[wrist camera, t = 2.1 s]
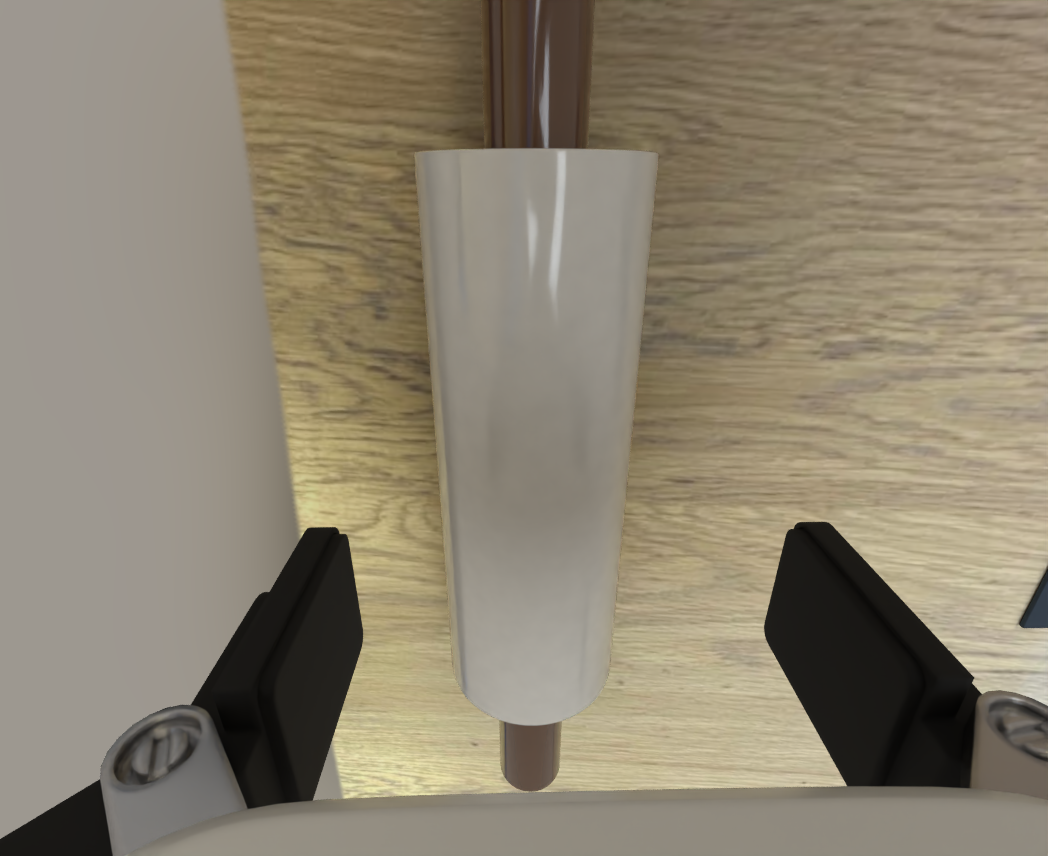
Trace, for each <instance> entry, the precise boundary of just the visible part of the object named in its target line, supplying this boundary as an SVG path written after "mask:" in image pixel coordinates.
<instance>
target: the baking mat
mask: <svg viewBox="0 0 1048 856" xmlns="http://www.w3.org/2000/svg"><path fill="white" fill-rule="evenodd" d="M1020 626H1021V627H1022V628H1048V571H1047V573H1046V574H1045V576H1044V578H1043V580H1042V582H1041V584H1040V586H1039V588H1038V590H1037V592H1036V594H1035V596H1034V598H1033V599H1032V601H1031V603H1030V605H1029V607H1028V609H1027V611H1026V613H1025V615H1024V617H1023V619H1022V621H1021V623H1020Z"/></svg>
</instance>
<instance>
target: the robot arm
mask: <svg viewBox="0 0 1048 856" xmlns="http://www.w3.org/2000/svg"><path fill="white" fill-rule="evenodd" d="M764 632H765V637H766V640H767V642H768V644H769V646H770V648H771V650H772V652H773V653H774V655H775V657H776V659H777V661H778V662H779V664H780V666H781V668H782V669H783V671H784V673H785V675H786V677H787V678H788V680H789V682H790V684H791V686H792V687H793V689H794V691H795V693H796V695H797V696H798V698H799V700H800V702H801V704H802V705H803V707H804V709H805V711H806V713H807V714H808V716H809V718H810V720H811V722H812V723H813V725H814V727H815V729H816V731H817V732H818V734H819V736H820V738H821V740H822V741H823V743H824V745H825V747H826V749H827V750H828V752H829V754H830V756H831V758H832V759H833V761H834V763H835V765H836V767H837V768H838V770H839V772H840V774H841V776H842V777H843V779H844V781H845V783H846V785H847V786H842V787H776V788H711V789H662V790H614V791H569V792H528V793H491V794H454V795H417V796H393V797H371V798H349V799H326V800H315V801H313V798H314V794H315V791H316V788H317V785H318V782H319V778H320V776H321V772H322V770H323V766H324V763H325V760H326V757H327V754H328V751H329V748H330V745H331V741H332V738H333V735H334V732H335V729H336V726H337V723H338V720H339V717H340V713H341V710H342V707H343V704H344V701H345V698H346V695H347V692H348V689H349V685H350V682H351V679H352V676H353V673H354V670H355V667H356V664H357V660H358V657H359V654H360V651H361V648H362V642H363V628H362V621H361V615H360V609H359V603H358V597H357V590H356V584H355V578H354V572H353V565H352V559H351V553H350V547H349V541H348V537H347V535H346V534H339V531H338V529H337V528H336V527H318V528H308V529H307V530H306V531H305V533H304V534H303V536H302V538H301V539H300V541H299V543H298V544H297V546H296V548H295V550H294V551H293V553H292V555H291V556H290V558H289V560H288V561H287V563H286V565H285V566H284V568H283V570H282V572H281V574H280V575H279V577H278V578H277V580H276V582H275V584H274V585H273V587H272V589H271V591H270V592H264V593H262V594H260V595H259V596H258V597H257V598H256V600H255V601H254V603H253V604H252V606H251V607H250V609H249V611H248V612H247V614H246V616H245V617H244V619H243V621H242V622H241V624H240V626H239V627H238V629H237V630H236V632H235V634H234V635H233V637H232V638H231V640H230V642H229V643H228V645H227V647H226V648H225V650H224V652H223V653H222V655H221V656H220V658H219V660H218V661H217V663H216V665H215V667H214V668H213V670H212V671H211V673H210V675H209V676H208V678H207V679H206V681H205V683H204V684H203V686H202V687H201V689H200V691H199V692H198V694H197V696H196V697H195V699H194V701H193V702H192V704H191V705H178V706H173V707H168V708H165V709H162V710H160V711H157V712H155V713H153V714H150V715H148V716H147V717H145V718H143V719H142V720H140V721H139V722H137V723H135V724H134V725H132V727H130V728H129V729H128V730H127V731H126V732H125V733H123V734H122V735H121V736H120V737H119V738H118V739H117V740H116V742H115V743H114V744H113V745H112V747H111V748H110V749H109V750H108V752H107V754H106V756H105V758H104V761H103V763H102V765H101V773H100V774H101V775H100V780H98V781H96V782H95V783H93V784H91V785H90V786H88V787H86V788H85V789H83V790H82V791H80V792H78V793H76V794H75V795H73V796H71V797H70V798H68V799H66V800H65V801H63V802H61V803H60V804H58V805H56V806H55V807H53V808H51V809H50V810H48V811H46V812H45V813H43V814H41V815H40V816H38V817H36V818H35V819H33V820H31V821H30V822H28V823H27V824H25V825H23V826H21V827H20V828H18V829H16V830H15V831H13V832H11V833H10V834H8V835H6V836H5V837H3V838H1V839H0V856H1048V706H1047V705H1045V704H1043V703H1041V702H1039V701H1036V700H1034V699H1032V698H1029V697H1026V696H1023V695H1020V694H1017V693H1013V692H1007V691H1001V690H998V691H988V692H986V693H984V694H981V693H980V692H979V690H978V689H977V688H976V687H975V686H974V685H973V684H972V682H973V679H974V677H973V676H972V675H971V674H970V673H969V672H968V671H967V669H966V668H965V667H964V666H963V665H962V664H961V663H960V662H959V661H958V660H957V659H956V658H955V657H954V656H953V654H952V653H951V652H950V651H949V650H948V649H947V648H946V647H945V646H944V645H943V644H942V643H941V642H940V641H939V639H938V638H937V637H936V636H935V635H934V634H933V633H932V632H931V631H930V630H929V629H928V628H927V627H926V626H925V624H924V623H923V622H922V621H921V620H920V619H919V618H918V617H917V616H916V615H915V614H914V613H913V612H912V611H911V609H910V608H909V607H908V606H907V605H906V604H905V603H904V602H903V601H902V600H901V599H900V598H899V597H898V596H897V594H896V593H895V592H894V591H893V590H892V589H891V588H890V587H889V586H888V585H887V584H886V583H885V582H884V581H883V579H882V578H881V577H880V576H879V575H878V574H877V573H876V572H875V571H874V570H873V569H872V568H871V567H870V566H869V564H868V563H867V562H866V561H865V560H864V559H863V558H862V557H861V556H860V555H859V554H858V553H857V552H856V551H855V550H854V548H853V547H852V546H851V545H850V544H849V543H848V542H847V541H846V540H845V539H844V538H843V537H842V536H841V535H840V533H839V532H838V531H837V530H836V529H835V528H834V527H833V526H832V525H831V524H830V523H828V522H799V523H797V524H796V525H795V527H794V529H790V530H789V531H788V532H787V534H786V538H785V542H784V546H783V550H782V554H781V558H780V562H779V566H778V570H777V575H776V579H775V583H774V587H773V591H772V595H771V599H770V603H769V607H768V612H767V616H766V620H765V625H764Z"/></svg>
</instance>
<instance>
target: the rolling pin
mask: <svg viewBox="0 0 1048 856" xmlns="http://www.w3.org/2000/svg"><path fill="white" fill-rule="evenodd" d="M480 8H481V46H482V84H483V122H484V149H449V150H428V151H418V152H415V153H414V165H415V178H416V191H417V205H418V218H419V231H420V244H421V257H422V271H423V284H424V297H425V310H426V323H427V337H428V350H429V363H430V376H431V389H432V403H433V416H434V429H435V442H436V455H437V469H438V482H439V495H440V508H441V521H442V534H443V548H444V561H445V574H446V587H447V600H448V614H449V627H450V640H451V653H452V665H453V672H454V675H455V678H456V681H457V683H458V685H459V687H460V689H461V691H462V692H463V693H464V695H465V696H466V697H467V699H468V700H469V701H470V702H471V703H472V704H473V705H474V706H476V707H477V708H478V709H480V710H481V711H482V712H484V713H486V714H488V715H490V716H491V717H494V718H496V719H499V730H500V764H501V770H502V773H503V775H504V777H505V778H506V780H507V781H508V782H509V783H510V784H511V785H512V786H514V787H515V788H517V789H520V790H523V791H529V792H532V791H538V790H541V789H543V788H545V787H547V786H548V785H549V784H550V783H551V782H552V781H553V780H554V779H555V777H556V776H557V773H558V771H559V766H560V747H561V725H562V721H563V720H566V719H568V718H571V717H573V716H574V715H576V714H578V713H580V712H581V711H583V710H584V709H586V708H587V707H588V706H589V705H590V704H591V703H592V702H593V701H594V700H595V699H596V698H597V697H598V695H599V694H600V693H601V691H602V690H603V688H604V686H605V684H606V681H607V678H608V676H609V670H610V662H611V652H612V641H613V631H614V620H615V610H616V600H617V589H618V579H619V568H620V558H621V548H622V537H623V527H624V517H625V506H626V496H627V485H628V475H629V465H630V454H631V444H632V434H633V423H634V413H635V402H636V392H637V382H638V371H639V361H640V351H641V340H642V330H643V319H644V309H645V299H646V288H647V278H648V267H649V257H650V247H651V236H652V226H653V216H654V205H655V195H656V184H657V174H658V164H659V153H657V152H653V151H641V150H619V149H588V142H589V120H590V99H591V77H592V55H593V34H594V12H595V0H480Z"/></svg>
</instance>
